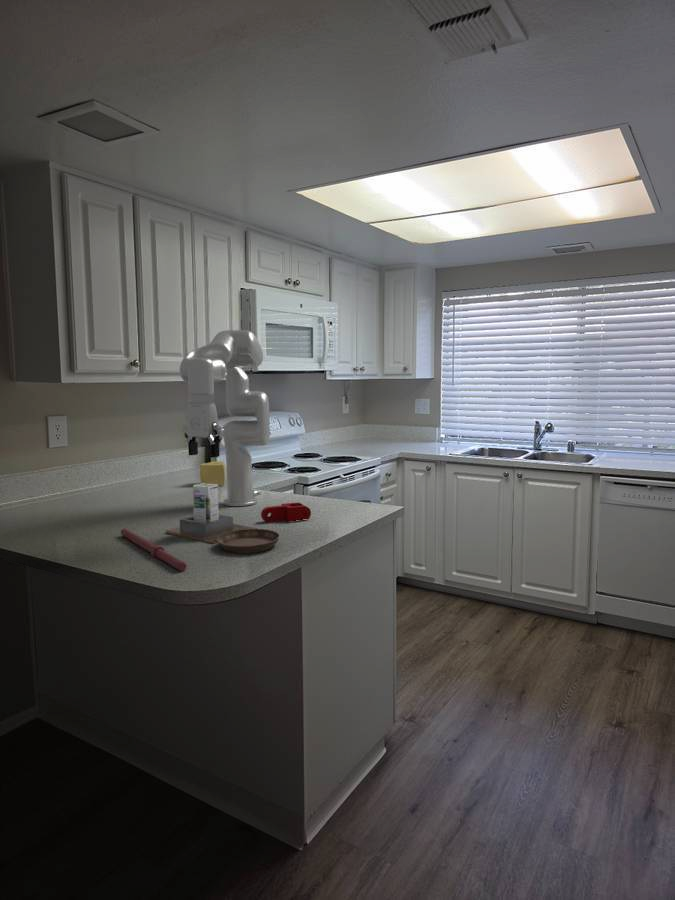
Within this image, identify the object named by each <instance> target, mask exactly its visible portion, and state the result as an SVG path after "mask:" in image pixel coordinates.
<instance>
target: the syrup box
mask: <svg viewBox="0 0 675 900" xmlns="http://www.w3.org/2000/svg"><path fill="white" fill-rule="evenodd" d="M192 502H193V504H192V505H193V516H194V521H198V522H203V523H207V522H210V521H214V520H218V519H219V515H220V514H219V513H220V512H219V486H218V484H205V483H201V482H200V483H196V484H194V485H192Z"/></svg>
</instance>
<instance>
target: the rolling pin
mask: <svg viewBox="0 0 675 900" xmlns="http://www.w3.org/2000/svg"><path fill="white" fill-rule="evenodd" d="M120 535H121V536H123V537H125V538H126V539H127V540H129V541H131V542H132V543H134V544H135V545H137V546H139V547H141V548H142V549H143V550H146V551H147V552H149V553H150V555H151V556H152V557H153V558H156V559H161V561H162V562H166V563H167V564H168V565H170V566H171V567H173V568H174V569H176V570H178V571H180V572H184V571H185V570H186V569H187V563H186V562H184V561H183V560H181V559H179V558H177V557H176V556H174V555H172V554H171V553H169V552H167V551H166V550H165V549H164V548H163V547H162V546H160V545H159V544H158V545H157V544H156V545H155V544H154V543H152V542H149V540H147V539H145V538H143V537H141V536H139V535H138V534H136V533H135V532H132V531H131V530H129V529H127V528H126V527H125V528H122V529H121V530H120Z"/></svg>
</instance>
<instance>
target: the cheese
mask: <svg viewBox="0 0 675 900" xmlns="http://www.w3.org/2000/svg"><path fill="white" fill-rule="evenodd" d="M199 473H200V475H199V476H200V478H199V479H200V484H201V483H205V484H218V487H225V484H226V461H210V462H203V463H201V464H200V468H199Z"/></svg>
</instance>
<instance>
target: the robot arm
mask: <svg viewBox="0 0 675 900" xmlns="http://www.w3.org/2000/svg"><path fill="white" fill-rule="evenodd" d="M181 360H182V361H181V363H180V364H179V365H180V366H179V374H180V375H179V376H180V378H181V379H182V380H183V381H184V383H185V382H186V383H188V384H187V385H188V404H187V408H186V414H185V426H183V427H182V430H183V431H182V432H183V433H184V437H185V438H186V442H187V443H188V444H187V445H188V456H196V455H198V454H199V450H198V449H199V448H198V447H199V446H198V444H199V443H198V441H197V440H198V438H201V439H206V438H208V440H209V443H211V444H209V455H210V458H219V457H220V456H221V455H220V444H221V441H223V443H224V449H225V460H226V461H225V470H226V488H227V489H226V492H227V494H226V495H227V498H226V499H224V500H223V501H222V503H223V505H225V506H228V507H246V506H247V507H248V506H252V505H256V504H257V502H258V500H257V498H255V497H256V496H260V495H262V491H261V490H260V489H258V490H254V489H253V470H252V469H253V468H252V467H253V464H252V456H251V453H250V452H249V451H248V449H247V448H246V447H249V446H250V447H257V446H261V447H262V446H266V445H267V444H268V443H270V442H269V441H270V432H271V431H270V430H271V429H270V402H269V400H270V399H269V397H268V395H267V393H265V392H264V391H257V390H253V391H250V379H249V376H248V374H247V373H246V372H245V370H244V369H243V368H254V367H255V368H256V367H259V366H260V365H262V363H263V360H264V352H263V348H262V346H261V343H260V342H259V341H258V338H257V337H256V335H255V334H254V333H253V332H252V331H250V330H248V329H240V330H239V329H235V330H233V329H232V330H231V329H230V330H229V329H228V330H221V331H219V332H218V333H216V334H215V336H214V338H213V339H212V340H211V341H210V343H209V344H207V345H203V346H202V347H198V348H195V349H193V350H191V351H189V352H188V353H186V354H185V356H184V357H183V359H181ZM224 380H225V402H226V407H225V408H226V413H227V414H228V415H229V416H230V417H235V418H236V417H238V418H246V417H247V418H252V417H253V418H256V420H247V419H245V420H241V419H240V420H237V419H236V420H229V421H227V422H225V423H224V425H223V427H221V426H220V425H219V419H218V412H217V411H218V410H217V407H216V404H215V383H221V382H222V381H224Z"/></svg>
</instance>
